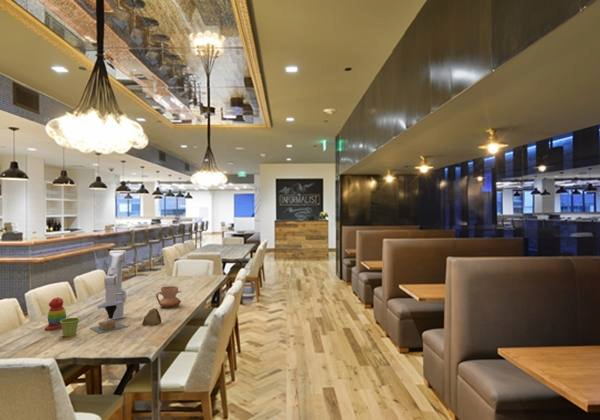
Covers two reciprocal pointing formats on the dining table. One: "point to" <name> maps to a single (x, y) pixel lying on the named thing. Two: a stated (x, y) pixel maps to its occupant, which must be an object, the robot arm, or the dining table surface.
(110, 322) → the walnut block
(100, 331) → the rubber mat
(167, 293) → the ceramic jug
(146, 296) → the dining table surface
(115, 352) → the dining table surface
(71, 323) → the plant pot
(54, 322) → the stacking bear
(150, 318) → the rock
